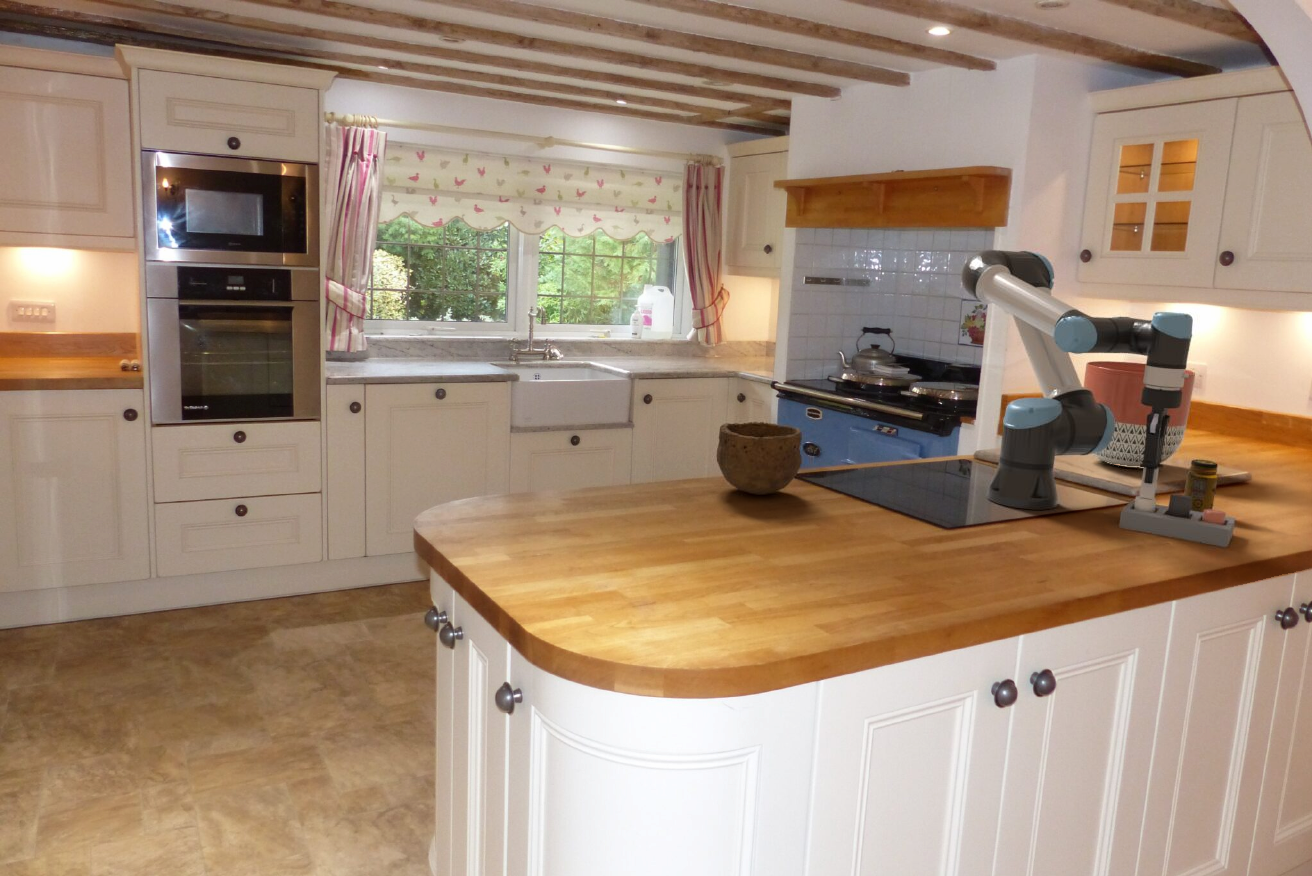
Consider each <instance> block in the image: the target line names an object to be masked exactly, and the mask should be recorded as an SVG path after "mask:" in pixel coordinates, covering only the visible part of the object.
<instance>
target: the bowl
mask: <svg viewBox="0 0 1312 876" xmlns="http://www.w3.org/2000/svg"><path fill="white" fill-rule="evenodd" d="M802 437H803V433H802V430H801V428H798V427H793V426H790V425H782V424H781V425H779V424H776V423H771V422H770V423H769V422H763V421H760V422H758V421H753V422H752V421H749V422H744V423H738V422H734V423H729V422H728V423H727V422H726V423H723V424H721V425H720V427H719V434H718V444H717V449H716V462H717V464H718V467H719V470H720V472H721V474H722V475H723V477H724V479H725V480H726V482H728V483H729V484H730V485H731V486H733V487H734V488H736V489H738V490H739V491H742V492H745V493H747V494H753V495H756V496H757V495H759V496H760V495H762V496H763V495H768V494H772V493H776V492H778V491H781V490H783V489H784V488H786V487H787V486H788V485H790V483H791V482H792V481H793V479H794V478H795V476H796V475H797V474H798V472H799V470H800V468H801V467H802V466H801V465H802V463H803V462H802V454H801V450H800V447H801V445H802Z"/></svg>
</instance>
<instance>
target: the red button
mask: <svg viewBox="0 0 1312 876" xmlns="http://www.w3.org/2000/svg"><path fill="white" fill-rule="evenodd" d="M1226 514H1227V512H1225V511H1222V510H1219V509H1213V508H1212V509H1204V512H1203V518H1202V521H1203V522H1209V523H1214V524H1220V525H1224V521H1225V516H1227V515H1226Z"/></svg>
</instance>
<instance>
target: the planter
mask: <svg viewBox="0 0 1312 876" xmlns="http://www.w3.org/2000/svg"><path fill="white" fill-rule="evenodd" d="M1145 367H1146V363H1140V362H1128V361H1109V360H1101V361H1100V360H1097V361H1095V360H1094V361H1088V362H1086V364H1085V369H1084V370H1085V372H1084V377H1083V379H1084V380H1083V387H1084V388H1087V389H1090V390H1091V391H1092V394H1093V396H1094V399H1095V401H1096V403H1101V404H1103V405H1104V406H1107V407H1108V408H1109V409H1110V410H1111V412H1112V413H1113V416H1114V419H1115V431H1114V434H1113V435H1112V440H1111V442H1110V443H1109V445H1108V446H1107V447H1106V448H1105V449H1104V450H1102V451H1100V452H1098V453H1094V454H1092V455H1094V457H1096V458H1097V459H1098V460H1099V461H1101V460H1102V461H1101V462H1103V461H1105V462H1109V463H1112V464H1120V465H1127V466H1140V464H1143V459H1144V450H1145V440H1146V424H1147V422H1146V420H1147V415H1148V414H1150V413H1151V410H1152V407H1151V406H1146V405H1143V404H1142V403H1141V397H1142V390H1143V388H1144V387H1145V386H1146V385H1145V384H1144V383H1143V381H1144V374H1145ZM1184 373H1187V374H1188V378H1184V385H1183V387H1182V388H1180V390H1182V392H1183V394H1182V401H1181V406H1180V407H1179V408H1173V409H1171V408H1168V413H1167V415H1170V422H1169V423H1168V427H1167V433H1166V435H1165V441H1164V446H1163V452H1162V457H1161V459H1162V460H1161V462H1160V464H1162V463H1164V462H1166V461H1167V460H1168V459H1170V458H1172V457H1173V456H1174V455H1175V454H1176V452H1177V451H1178V449H1179V448H1180V446H1181V445H1182V443H1183V442H1182V441H1183V439H1184V436H1185V433H1186V428H1187V424H1188V420H1189V419H1188V418H1189V413H1190V406H1191V402H1192V395H1193V391H1194V387H1195V386H1194V384H1195V378H1196V372H1194V371H1192V370H1188V369H1186V371H1185V372H1184ZM1105 462H1104V463H1105Z"/></svg>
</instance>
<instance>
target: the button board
mask: <svg viewBox="0 0 1312 876" xmlns="http://www.w3.org/2000/svg"><path fill="white" fill-rule="evenodd" d="M1134 505H1135V499H1134V500H1131V501H1129V502H1128V503H1127V504H1126V506H1124V508H1123V509H1122V510H1121V513H1120V517H1119V518H1120V520H1119V525H1118V526H1119V527H1118V528H1121V529H1125V530H1131V531H1138V532H1140V533H1141V532H1142V533H1149V534H1153V535H1159V536H1163V537H1168V538H1173V537H1174V539H1179V540H1185V541H1190V542H1195V543H1200V542H1201V543H1202V544H1207V545H1211V546H1216V547H1222V548H1228V546H1229V544H1230V541H1231V539H1232V537H1233V534H1234V528H1235V524H1236V523H1235V522H1236V517H1232V516H1227V515H1225V521H1224V525H1220V524H1214V523H1209V522H1203V521H1202V518H1203V512H1197V511H1191V510H1190V513H1189V517H1187V518H1182V517H1175V516H1171V515H1169V514H1168V508H1169V505H1168V506H1167V505H1161V504H1157V503H1156V506H1155V513H1152V512H1147V511H1141V510H1135V509H1134Z"/></svg>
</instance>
